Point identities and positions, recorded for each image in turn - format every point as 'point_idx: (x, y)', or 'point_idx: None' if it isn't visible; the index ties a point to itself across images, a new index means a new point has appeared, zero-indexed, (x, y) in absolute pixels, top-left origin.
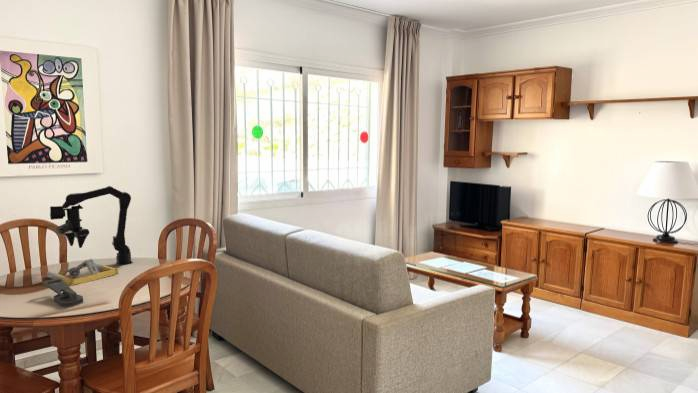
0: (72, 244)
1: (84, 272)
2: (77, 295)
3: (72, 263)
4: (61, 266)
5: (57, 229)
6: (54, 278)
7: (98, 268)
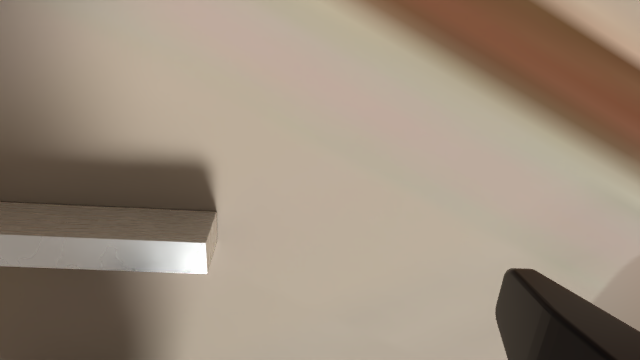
0: (510, 335)
1: (17, 42)
2: None
3: (603, 200)
4: (618, 51)
5: None
6: None
7: (17, 210)
